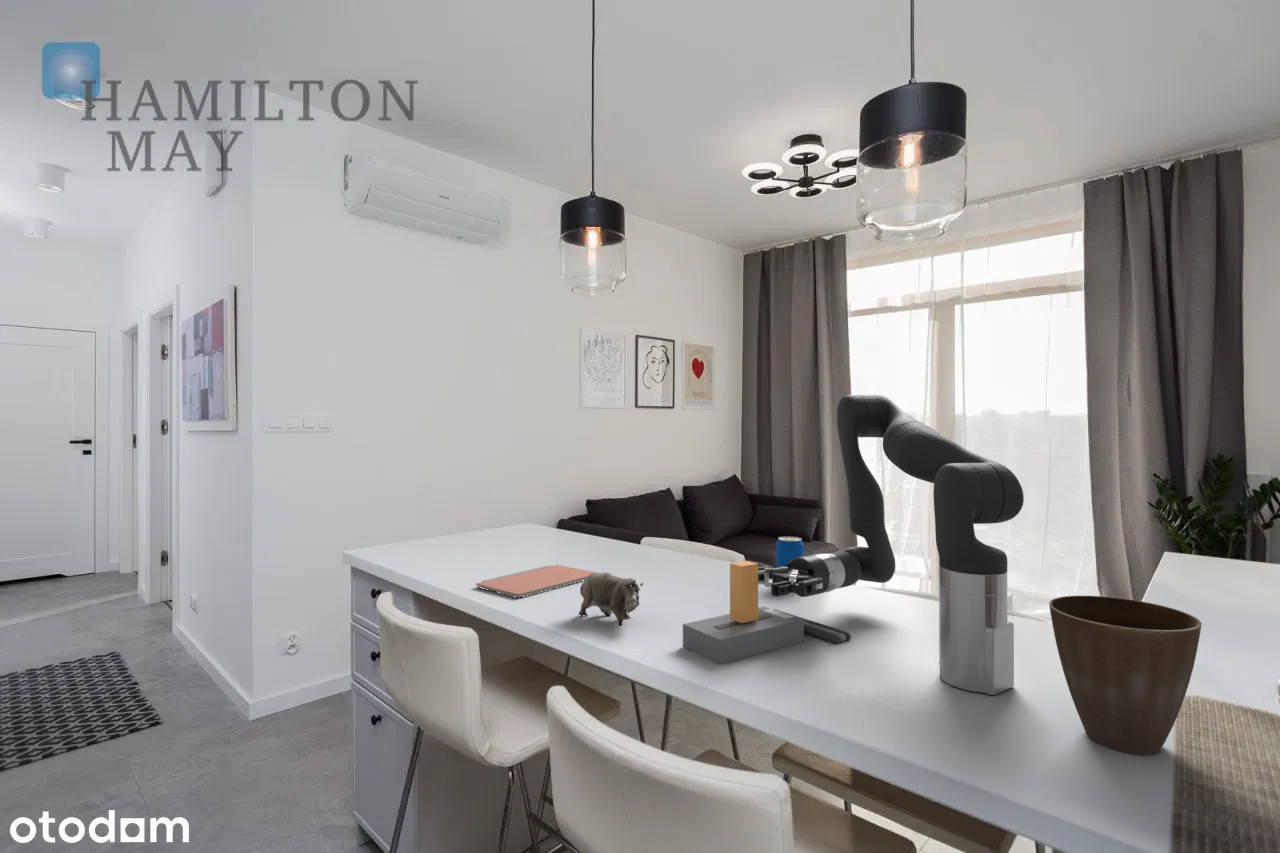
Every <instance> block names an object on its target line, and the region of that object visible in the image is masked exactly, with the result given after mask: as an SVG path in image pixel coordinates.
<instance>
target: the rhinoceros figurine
mask: <svg viewBox="0 0 1280 853" xmlns="http://www.w3.org/2000/svg"><path fill="white" fill-rule="evenodd" d="M643 585H644V582H641V583H640V584H638V582H637V581H636V579H635V578H632V577H629V578H626V577H624V578H622V577H619V576H617V575H614V574H612V573H610V572H605V571H604V572H598V573H592V574H590V575H589V576H588V577H587V578H586V579H585V580H584V582H582V584H581V586H580V588H579V590H580V595H581V597H582V598H583V601H582V603H581V605H580V609H579V610H580V611H579V612H578V616H579V615H581V616H583V615H586V616H588V613H587V609H589V608H592V607H598V608H599V610H600V611H601V613H603V614H604V615H607V616H609V615H610V614H612V615H613V616H615V618H616V619H617V624H618V626H622V625H623V622H624V618H623V617H626V618H628V619H631V618H630V617H631V616H630V615H629V614H630V613H631V612H633V611H635V610H636V609H637V607H638V606H639V605H640V601H639V600H640V596H639V592H640V591H641V588H640V587H642V586H643ZM604 615H603V616H604ZM618 626H617V627H618Z"/></svg>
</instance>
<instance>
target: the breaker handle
mask: <svg viewBox="0 0 1280 853" xmlns="http://www.w3.org/2000/svg"><path fill="white" fill-rule="evenodd" d="M758 567H759V563H757V562H753V561H748V560H742V561H737V562H730V563H729V614H730V619H731V620H734V621H736V622H739V623H746V622H750V621H754V620H758V608H759V584H758Z"/></svg>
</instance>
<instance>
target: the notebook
mask: <svg viewBox="0 0 1280 853" xmlns="http://www.w3.org/2000/svg"><path fill="white" fill-rule="evenodd" d="M592 573H599V572H596V571H593V570H592V571H591V570H587V569H583V568H582V569H581V568H577V567H572V566H571V567H570V566H565V565H561V564H555V565H551V564H549V565H545V566H541V567H537V568H532V569H528V570H523V571H518V572H514V573H510V574H506V575H502V576H496V577H492V578H489V579H483V580H482V581H481V582H477V583H475V585H476V587H477V586H479V587H482V588H485V589H488V590H492V591H496V592H500V593H504V594H508V595H512V596H516V597H523V596H527V595H530V594H534V593H538V592H541V591H545V590H549V589H553V588H556V587H560V586H564V585H567V584H571V583H575V582H579V581H582V580H585V579H586V578H587V577H588V576H589V575H590V574H592ZM579 583H580V582H579ZM575 584H576V583H575ZM564 587H565V586H564ZM553 590H554V589H553ZM549 591H550V590H549ZM538 594H539V593H538ZM527 597H528V596H527Z"/></svg>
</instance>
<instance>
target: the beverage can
mask: <svg viewBox="0 0 1280 853" xmlns="http://www.w3.org/2000/svg"><path fill="white" fill-rule="evenodd" d="M777 539H778V540H777V541H776V542H775V543H776V544H775V546H776V547H775V556H776V559H775V560H776V561H775V565H776V567H775V568H779V567H787V565H788V564H789V562H790V561H791V560H792V559H794V558H796V557H802V556H805V553H804V551H805V547H804V546H805V545H804V542H803V540H802V537H798V536H779V537H778V538H777Z"/></svg>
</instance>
